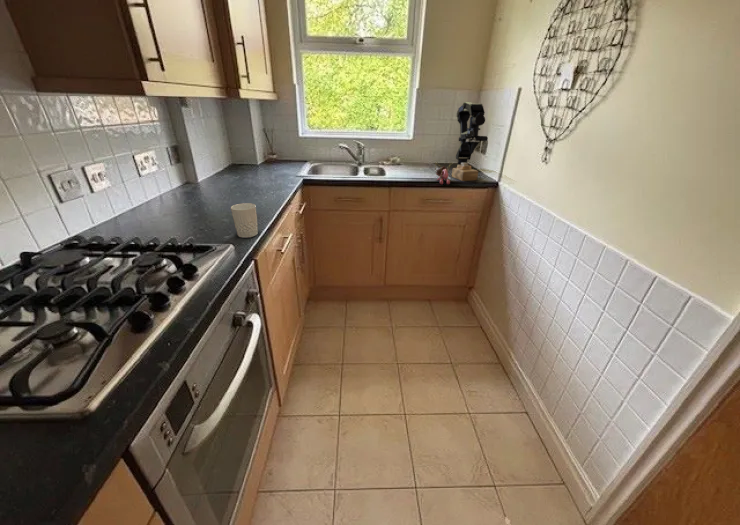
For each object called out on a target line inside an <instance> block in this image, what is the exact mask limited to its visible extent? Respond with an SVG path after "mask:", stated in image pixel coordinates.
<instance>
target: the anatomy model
mask: <svg viewBox="0 0 740 525" xmlns="http://www.w3.org/2000/svg"><path fill="white" fill-rule="evenodd" d="M438 163H439V162H438V161H434V164H435V167H434V169H436V168H437V166H438V167H439V168H437V169H436V170H434V172H435V174H436V176H437V177H438V178H437V179H436V181H439V185H443V184H444V180H445V181H446V185H451V180H450V179H449V176H450V174H449V172H450V170H449V169H450V168H451V165H453V164H454V162H453V161H451V163H450V164H449V165H448V166H447V167H446V166H445V165H442V166H441V165H440V164H438Z"/></svg>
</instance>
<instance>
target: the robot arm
mask: <svg viewBox="0 0 740 525" xmlns="http://www.w3.org/2000/svg"><path fill="white" fill-rule="evenodd" d="M484 108H485V107H484V105H483V104H482V103H474V102H471V101H465V102H463V103H462V105H460V106H459V107H458V108H457V111H456V118H457V119H456V120H457V122H458V124H459V131H460V132H459V133H460V136H459V137H458V142H460V146H459V147H458V149H457V152H456V154H455V159H456V160H457V165H461V163H468V160H469V161H470V160H471V157H472V154H474V152H475V150H476V148H477V146H478V145H479V143H481V142H488V140H489V139H488V135H479V131H481V128H480V126H483V125H484V124H485V122H486V117H485V113H486V111H485V109H484ZM468 122H469V125H468ZM454 168H457V166H455V167H454Z"/></svg>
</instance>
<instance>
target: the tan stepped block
mask: <svg viewBox="0 0 740 525" xmlns="http://www.w3.org/2000/svg"><path fill="white" fill-rule="evenodd" d="M456 167H457V168H455V167H452V170H451V178H454V179H456V180H459V181H462V182H467V181H478V175H479V170H478V169H477V170H476V169H473V168H472V165H469V164H468V166H462V165H457V166H456Z"/></svg>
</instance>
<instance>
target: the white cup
mask: <svg viewBox="0 0 740 525" xmlns="http://www.w3.org/2000/svg"><path fill="white" fill-rule="evenodd" d="M230 211H231V215H232V220H233V224H234V227H235V231H236V234H237V237H239V238H243V239H247V238H252V237H256V236H257V235H258V233H259V229H258V214H257V205H256V204H254V203H251V202H244V203H237V204H234V205H232V206H230Z"/></svg>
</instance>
